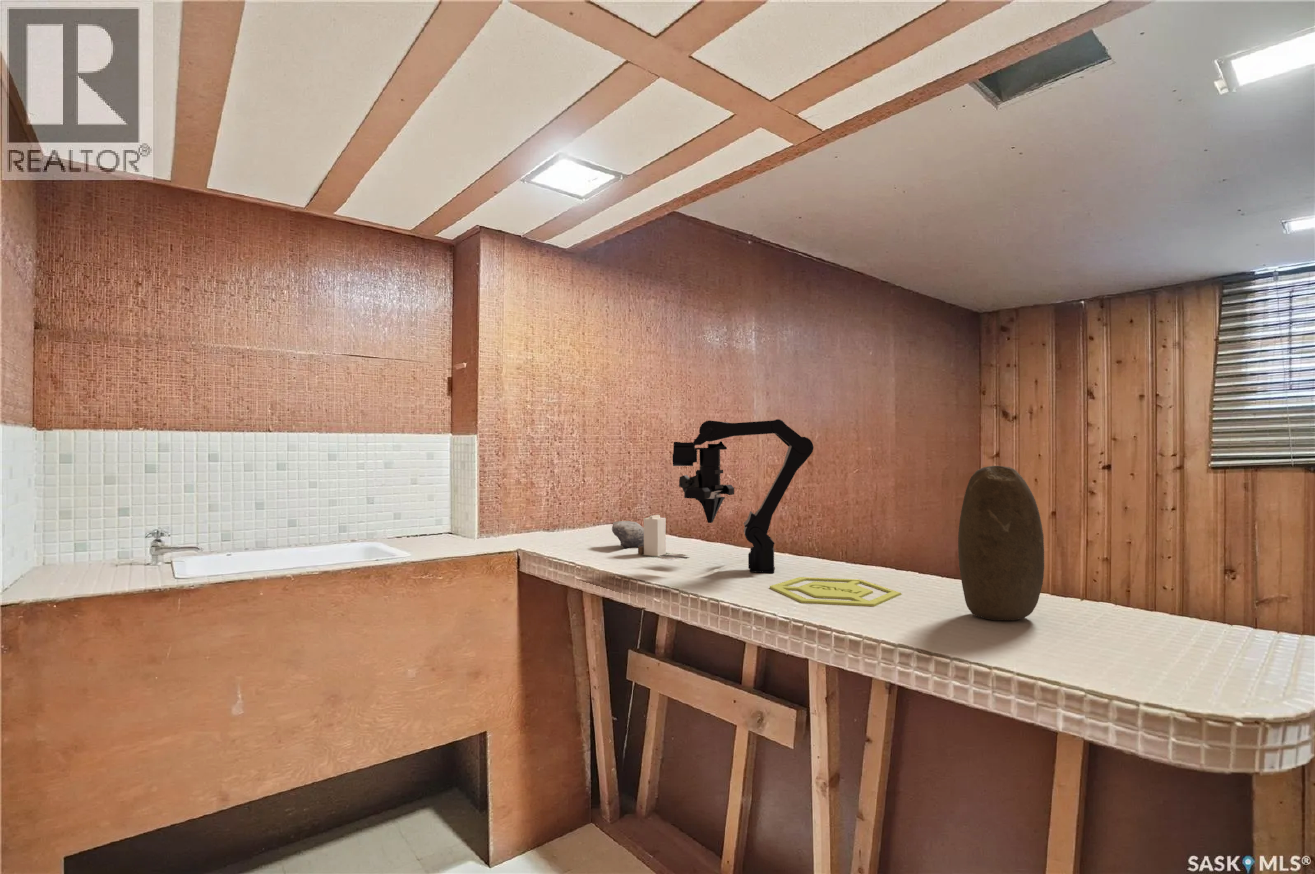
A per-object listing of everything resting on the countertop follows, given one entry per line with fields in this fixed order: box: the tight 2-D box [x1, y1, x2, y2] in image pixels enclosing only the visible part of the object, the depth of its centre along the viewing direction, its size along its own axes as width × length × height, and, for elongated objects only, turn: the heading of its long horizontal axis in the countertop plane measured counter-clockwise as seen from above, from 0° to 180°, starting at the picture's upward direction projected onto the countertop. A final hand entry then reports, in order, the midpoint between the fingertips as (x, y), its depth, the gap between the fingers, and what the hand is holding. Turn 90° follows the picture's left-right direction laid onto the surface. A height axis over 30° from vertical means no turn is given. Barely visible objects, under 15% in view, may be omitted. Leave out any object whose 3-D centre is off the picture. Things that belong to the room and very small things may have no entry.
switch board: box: [637, 546, 691, 561], centre depth 190 cm, size 17×10×4 cm, turn 57°
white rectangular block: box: [643, 514, 667, 557], centre depth 192 cm, size 5×4×12 cm
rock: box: [611, 520, 644, 550], centre depth 212 cm, size 11×17×10 cm, turn 38°
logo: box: [769, 576, 903, 608], centre depth 148 cm, size 26×1×30 cm
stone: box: [957, 465, 1045, 621], centre depth 125 cm, size 13×15×30 cm
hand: (710, 522), depth 174 cm, fingers closed
